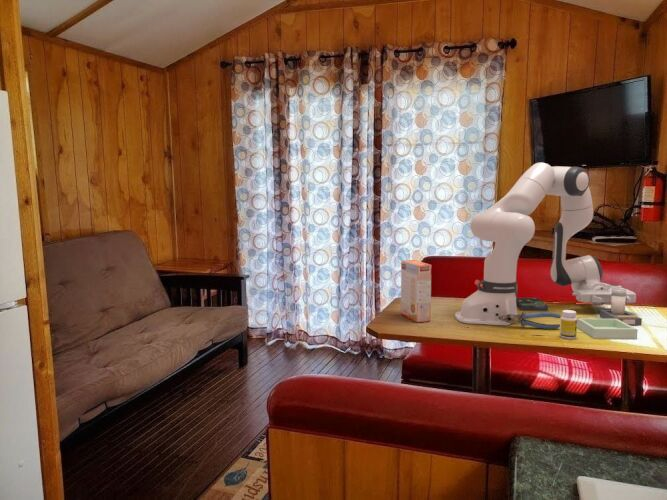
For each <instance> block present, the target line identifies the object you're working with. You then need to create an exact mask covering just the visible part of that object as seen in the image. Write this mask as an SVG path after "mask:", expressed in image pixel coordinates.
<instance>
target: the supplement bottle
mask: <svg viewBox="0 0 667 500" xmlns="http://www.w3.org/2000/svg"><path fill="white" fill-rule="evenodd" d="M561 311H562V312H561V315H562V316H561V318H560V327H559V329H560V330H559V336H560V338H563V339H567V340H568V339H569V340H575V339H576V338H577V329H578V328H577V311H575V310H570V309H564V310H561Z"/></svg>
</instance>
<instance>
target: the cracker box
mask: <svg viewBox="0 0 667 500" xmlns="http://www.w3.org/2000/svg"><path fill="white" fill-rule="evenodd" d="M400 263H401V267H400V273H401V274H400V314H401V315H402V316H404V317H406V318H408V319H409V320H410V321H411V320H412V321H413V322H415V323H427V322H429V323H430V322H431V310H432V309H431V308H432V306H431V305H432V303H431V301H432V297H431V296H432V264H429V263H428V262H427V263H426V262H422V261H419V260H415V259H407V260H401V262H400Z"/></svg>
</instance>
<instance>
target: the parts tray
mask: <svg viewBox="0 0 667 500" xmlns="http://www.w3.org/2000/svg"><path fill="white" fill-rule="evenodd" d="M576 318H577V317H576ZM577 329H579V330H580V331H582V332H583V333H585V334H586V335H588V336H590V337H591V338H593V340H595V339H598V340H600V339H603V340H605V339H606V340H607V339H609V340H610V339H611V340H616V339H617V340H619V339H620V340H637V339H638V330H639V329H638V328H636V327H634V326H630V325H628V324H626V323H624V322H622V321H620V320H618V319H603V318H586V317H585V318H582V317H581V318H577Z"/></svg>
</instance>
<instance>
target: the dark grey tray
mask: <svg viewBox="0 0 667 500" xmlns="http://www.w3.org/2000/svg"><path fill="white" fill-rule="evenodd" d="M610 313H611V309H600V310H599V318H600V319H618V320H620V321H622V322H624V323H626V324H628V325H630V326H632V327H634V325H641V326H642V323H643V321H642V320H643V319H642V317H640V316H637V315H635V314H634V313H633V314H632V313H631V312H629V311H627V310H625V315H612V314H610Z"/></svg>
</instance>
